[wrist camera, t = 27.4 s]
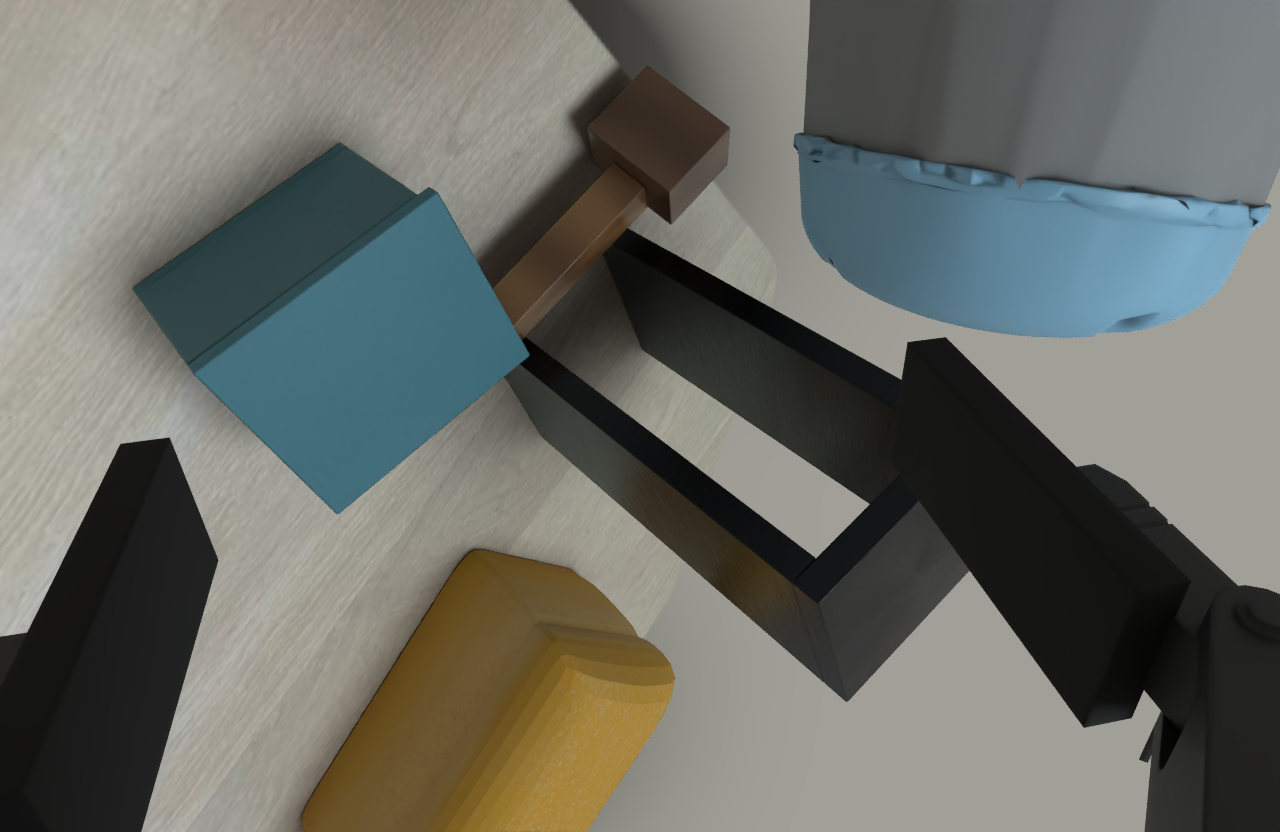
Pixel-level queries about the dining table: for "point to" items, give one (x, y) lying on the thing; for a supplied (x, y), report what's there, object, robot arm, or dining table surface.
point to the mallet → (620, 189)
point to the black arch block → (792, 415)
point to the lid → (368, 353)
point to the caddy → (268, 249)
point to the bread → (500, 711)
